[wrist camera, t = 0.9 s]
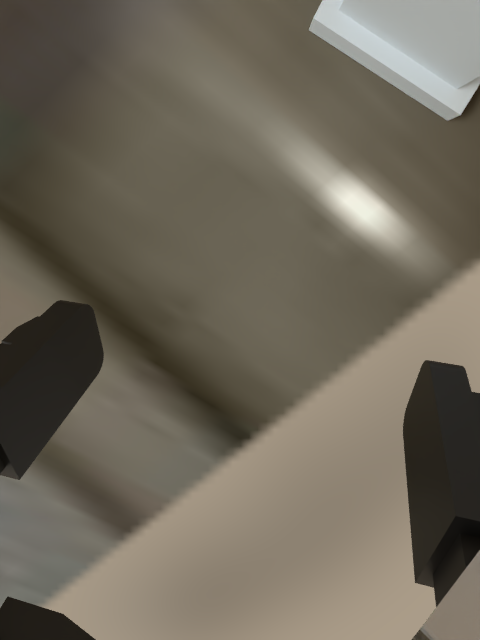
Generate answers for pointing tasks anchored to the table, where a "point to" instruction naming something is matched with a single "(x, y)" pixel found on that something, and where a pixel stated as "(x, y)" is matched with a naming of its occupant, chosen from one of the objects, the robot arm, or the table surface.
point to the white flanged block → (411, 45)
